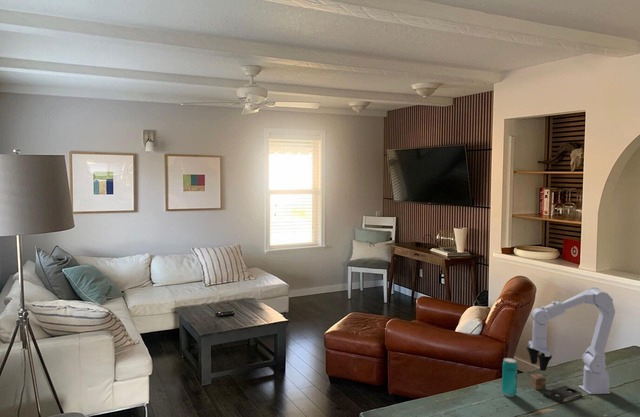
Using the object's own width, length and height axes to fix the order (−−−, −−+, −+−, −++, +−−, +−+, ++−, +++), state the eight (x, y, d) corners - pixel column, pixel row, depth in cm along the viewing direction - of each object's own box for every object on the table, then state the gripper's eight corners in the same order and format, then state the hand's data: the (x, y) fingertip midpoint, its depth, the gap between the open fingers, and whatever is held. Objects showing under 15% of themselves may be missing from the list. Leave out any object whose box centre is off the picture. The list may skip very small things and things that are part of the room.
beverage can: (517, 398, 207) (518, 363, 206) (503, 396, 208) (504, 362, 207) (515, 392, 212) (516, 358, 211) (500, 391, 214) (501, 357, 213)
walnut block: (540, 385, 220) (540, 374, 220) (545, 389, 215) (545, 378, 215) (530, 385, 220) (530, 374, 219) (535, 389, 215) (535, 378, 215)
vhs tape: (559, 404, 202) (559, 399, 202) (543, 396, 209) (543, 392, 209) (582, 397, 209) (582, 392, 209) (565, 390, 216) (565, 385, 216)
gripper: (522, 331, 223) (521, 360, 224) (539, 342, 208) (538, 373, 209) (537, 331, 223) (536, 360, 224) (555, 341, 209) (554, 373, 210)
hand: (538, 366), depth 217 cm, fingers open, 7 cm apart
